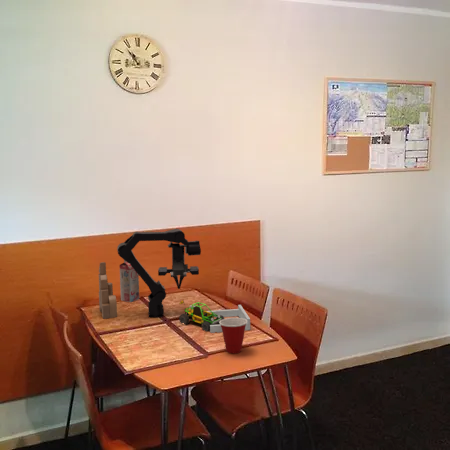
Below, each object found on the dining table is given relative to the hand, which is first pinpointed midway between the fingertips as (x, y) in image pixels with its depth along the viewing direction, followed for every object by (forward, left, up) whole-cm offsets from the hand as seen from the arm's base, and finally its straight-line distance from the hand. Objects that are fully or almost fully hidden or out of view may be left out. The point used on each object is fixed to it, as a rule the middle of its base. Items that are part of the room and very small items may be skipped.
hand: (178, 288), depth 226 cm
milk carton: (-23, +26, -12) cm, 37 cm away
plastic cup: (+17, -47, -12) cm, 51 cm away
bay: (+19, -18, -12) cm, 28 cm away
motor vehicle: (+9, -16, -13) cm, 22 cm away
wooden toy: (-33, +7, -12) cm, 36 cm away
